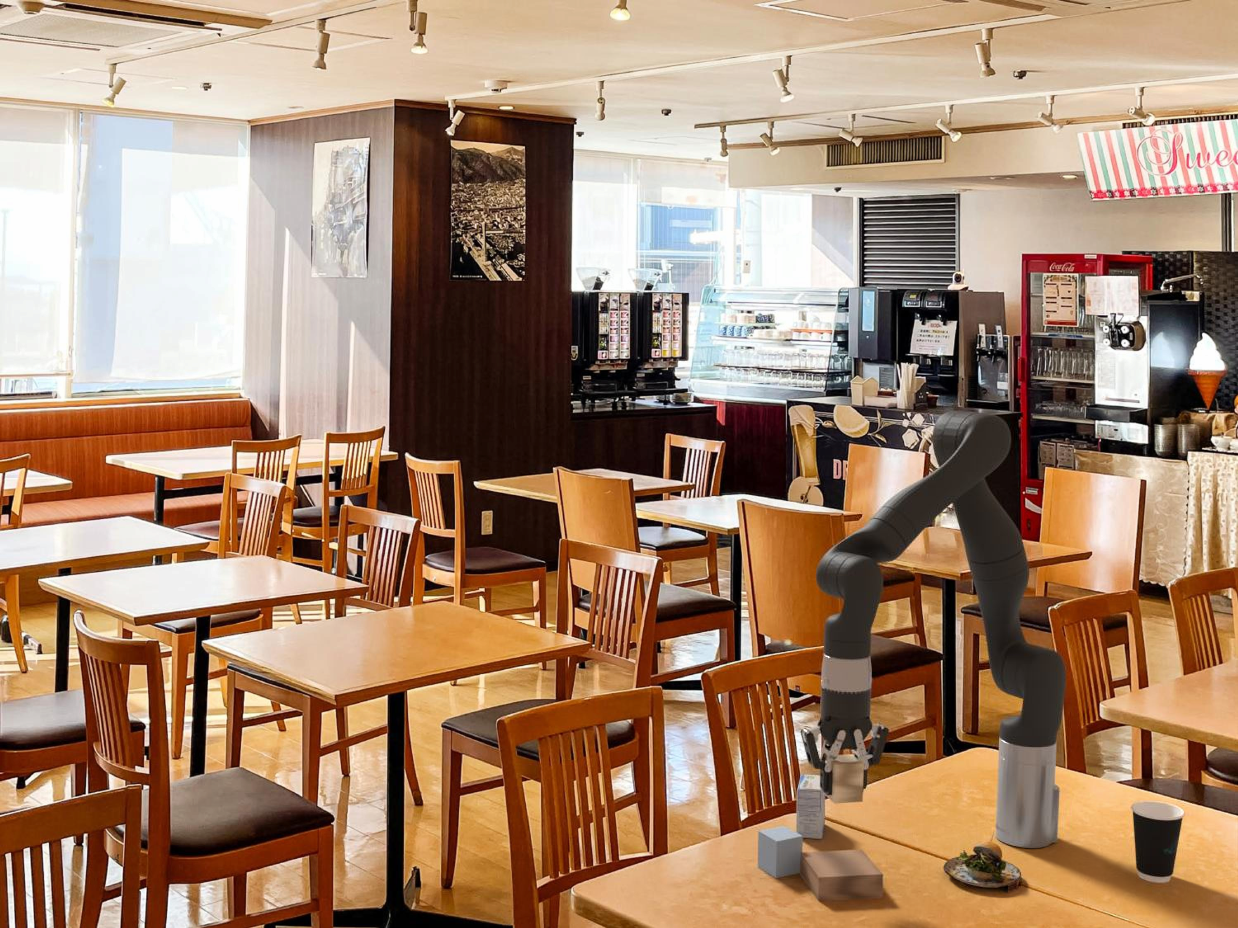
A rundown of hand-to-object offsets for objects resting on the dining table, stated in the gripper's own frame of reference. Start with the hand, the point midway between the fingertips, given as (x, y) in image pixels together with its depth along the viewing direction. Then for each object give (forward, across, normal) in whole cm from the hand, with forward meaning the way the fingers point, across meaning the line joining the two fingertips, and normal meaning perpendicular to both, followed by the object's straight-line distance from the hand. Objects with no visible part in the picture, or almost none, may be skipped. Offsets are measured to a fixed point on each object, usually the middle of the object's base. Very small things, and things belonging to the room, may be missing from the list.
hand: (843, 791), depth 214 cm
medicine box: (+15, -4, -23) cm, 28 cm away
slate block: (+15, +7, -8) cm, 18 cm away
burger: (+15, -23, +2) cm, 28 cm away
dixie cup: (+15, -50, +7) cm, 53 cm away
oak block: (+1, 0, 0) cm, 1 cm away
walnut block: (+15, 0, 0) cm, 15 cm away
